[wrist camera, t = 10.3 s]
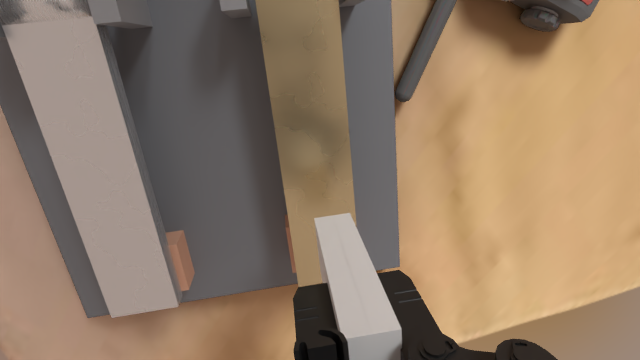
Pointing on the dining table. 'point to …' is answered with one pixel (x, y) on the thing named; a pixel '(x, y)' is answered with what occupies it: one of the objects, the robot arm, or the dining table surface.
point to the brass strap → (308, 118)
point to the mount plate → (220, 141)
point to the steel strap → (94, 149)
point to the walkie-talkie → (539, 3)
